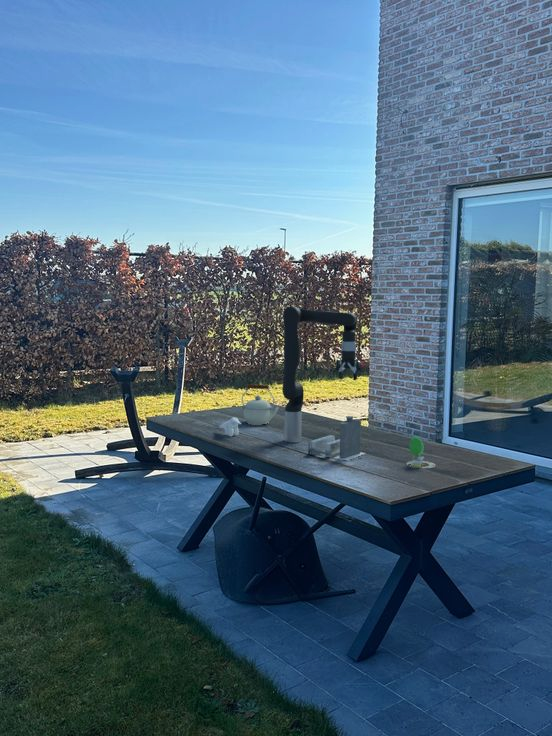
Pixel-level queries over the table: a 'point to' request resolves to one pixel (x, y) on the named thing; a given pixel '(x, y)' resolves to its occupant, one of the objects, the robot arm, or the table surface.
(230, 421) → the white dinosaur figurine
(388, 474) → the table surface
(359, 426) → the hip flask
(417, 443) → the train set
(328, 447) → the vise
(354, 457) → the mat
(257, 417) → the kettle
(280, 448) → the table surface
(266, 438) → the table surface
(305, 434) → the table surface
